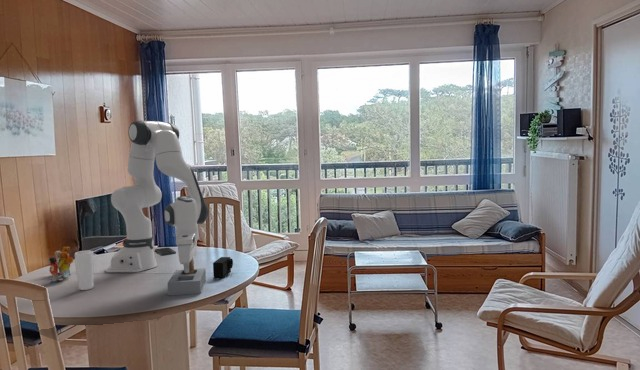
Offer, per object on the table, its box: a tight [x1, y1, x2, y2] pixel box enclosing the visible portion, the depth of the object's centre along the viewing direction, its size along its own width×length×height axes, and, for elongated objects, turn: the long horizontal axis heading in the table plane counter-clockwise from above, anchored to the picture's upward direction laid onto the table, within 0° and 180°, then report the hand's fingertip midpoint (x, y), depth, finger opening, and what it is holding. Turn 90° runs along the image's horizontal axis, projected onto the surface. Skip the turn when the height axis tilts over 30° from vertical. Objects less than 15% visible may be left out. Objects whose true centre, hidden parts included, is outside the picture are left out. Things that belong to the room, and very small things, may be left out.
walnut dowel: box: [184, 259, 195, 274], centre depth 183 cm, size 4×4×8 cm
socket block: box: [167, 267, 207, 296], centre depth 179 cm, size 12×18×5 cm, turn 8°
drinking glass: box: [74, 249, 95, 291], centre depth 180 cm, size 7×7×15 cm
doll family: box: [48, 246, 75, 285], centre depth 197 cm, size 21×10×13 cm, turn 22°
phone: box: [154, 247, 177, 257], centre depth 243 cm, size 8×1×15 cm
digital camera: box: [212, 256, 234, 279], centre depth 195 cm, size 10×5×7 cm, turn 173°
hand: (188, 269), depth 183 cm, fingers open, 8 cm apart
